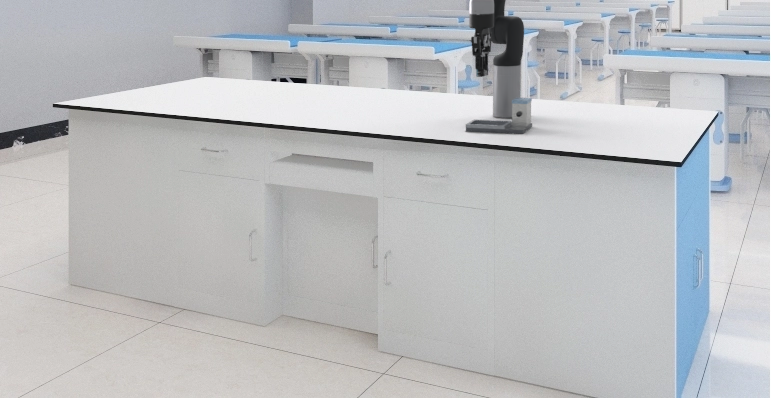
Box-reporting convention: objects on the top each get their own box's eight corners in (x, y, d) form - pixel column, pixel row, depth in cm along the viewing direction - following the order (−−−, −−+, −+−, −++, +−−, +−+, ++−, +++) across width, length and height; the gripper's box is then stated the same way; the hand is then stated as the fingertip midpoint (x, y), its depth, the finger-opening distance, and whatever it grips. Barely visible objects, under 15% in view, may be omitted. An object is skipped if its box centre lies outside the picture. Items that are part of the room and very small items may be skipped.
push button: (485, 77, 283) (485, 44, 280) (468, 77, 285) (468, 44, 283) (492, 75, 289) (492, 42, 286) (476, 74, 291) (476, 42, 288)
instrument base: (477, 124, 300) (477, 96, 298) (532, 126, 294) (532, 97, 292) (465, 131, 289) (465, 101, 286) (522, 134, 282) (523, 103, 280)
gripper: (476, 10, 290) (477, 65, 295) (462, 13, 278) (462, 70, 282) (500, 10, 287) (499, 65, 292) (486, 13, 275) (486, 71, 279)
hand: (481, 68), depth 287 cm, fingers closed on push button, 4 cm apart
